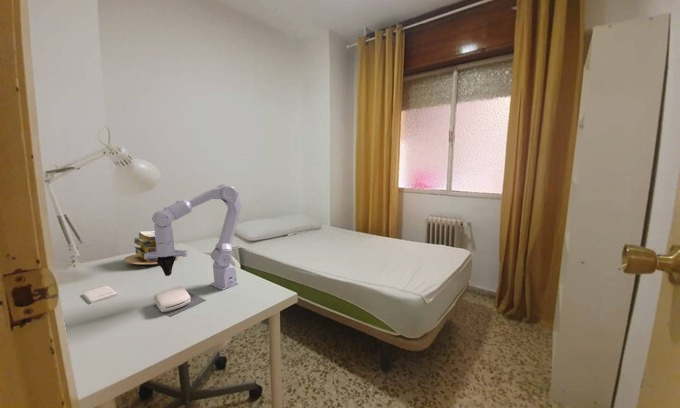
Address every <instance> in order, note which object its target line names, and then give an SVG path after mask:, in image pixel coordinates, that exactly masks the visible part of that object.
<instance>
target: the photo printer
mask: <svg viewBox="0 0 680 408" xmlns="http://www.w3.org/2000/svg"><path fill="white" fill-rule="evenodd" d="M188 292H189V291H187V290H186V289H185V288H184V286H175V287H172V288H168V289H165V290H163V291H159V292H157V293H154V295H153V300H154V303H155V305H156V304H157V306H158V308H159V309H160V310H159V311H160V312H161V313H164V312H167V311H171V310H175V309H178V308H180V307H183V306H185V305H187V304H189V303H190V302H191V301H190V299H191V298H190V295H189V294H188Z"/></svg>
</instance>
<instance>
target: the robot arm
mask: <svg viewBox="0 0 680 408" xmlns="http://www.w3.org/2000/svg"><path fill="white" fill-rule="evenodd" d="M239 195H240V194H239V192H238V190H237V189H236V187H234V186H233V185H226V184H220V185H217V186H214V187H212V188H209V189H208V190H206V191H205V192H202V193H200V194H199V195H196V196H194V197H193V198H191V199H189V200H185V199H181V200H180V199H178V200H176V201H175V203H173V204H171V205H169V206H164V207H163V208H162V209H159V210H157V211H155V212H154V213H153V214H152V217H151V220H152V222H153V223H154V225H153V226H154V230H155V240H156V249H157V252H151V253H146V254H144V259H148V258H158V260H157V263H158V265H159V266H160V268H161V269H162V271H163V273H164V275H165V277H169V276H171V275H172V272H173V266H174V263H175V261H176V260H177V259H176V257H179V258H180V257H187V256H188V255H189V253H188V250H186V249H185V250H183V249H181V250H180V249H178V250H177V249H175V241H174V231H173V228H172V224H173V221H176V220H179V219H181V218H183V217H185V216H186V215H188V214H190V213H191V212H192V211H193V208H195V207H198V206H199V205H202V204H204V203H206V202H208V201H210V200H221V201H223V203H224V204H225V205H226V207H227V210H226V214H225V217H224V221H223V225H222V229H221V231H220V235H219V239H218V242H217V243H216V244H215V248H214V249H213V250H212V252H211V255H210V258H211V259H212V261H213V264H212V269H213V270H212V271H213V282H211V283H210V286H212V287H214V288H217V289H220V290H222V291H224V290H226V289H228V288H231V287H232V286H235V285H238V284H239V283H240V282H239V281H238V280H237V279H238V278H237V270H236V269H235V267H233V265H232V260H233V257H232V252H233V249H232V248H233V247H232V243H233V239H234V235H235V231H236V228H237V225H238V224H237V223H238V220H239V217H240V213H241V208H242V204H241V199H240V196H239ZM175 259H176V260H175Z"/></svg>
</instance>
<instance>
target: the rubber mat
mask: <svg viewBox="0 0 680 408" xmlns="http://www.w3.org/2000/svg"><path fill="white" fill-rule="evenodd" d="M187 292H188V294H189V295H190V298H191V299H190V301H191V302H190V303H189V304H187V305H185V306H183V307H180V308H178V309H175V310H171V311H167V312H163V314H165V315H167V316H168V317H170V318H171V317H173V316H175V315H177V314H180V313H182V312H183V311H186V310H188V309H191V308H193V307H195V306H197V305H199V304H201V303H203V302H206V301H207V299H205V298H203V297H201V296H198V295H196V294H194V293H192V292H190V291H187ZM152 307H153V308H155V309H157V310H158V311H160V309H159V308H158V306H157V304H156V303H155V304H154V305H153V306H152Z"/></svg>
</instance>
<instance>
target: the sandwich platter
mask: <svg viewBox="0 0 680 408" xmlns="http://www.w3.org/2000/svg"><path fill="white" fill-rule="evenodd" d="M134 244H136V245H137V246H134V248H135V254H132V255H128V256H125V257H124V258H123V261H124V262H126V263H128V264H135V265H157V264H158V263H157V260H158V258H148V259H144V254H146V253H151V252H157V249H156V240H155V229H154V230H148V231H147V230H146V231H140V230H139V232H138V237H134ZM138 246H139V247H138ZM179 258H180V257H176V259H175V261H176V260H178V259H179ZM158 265H159V264H158Z"/></svg>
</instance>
